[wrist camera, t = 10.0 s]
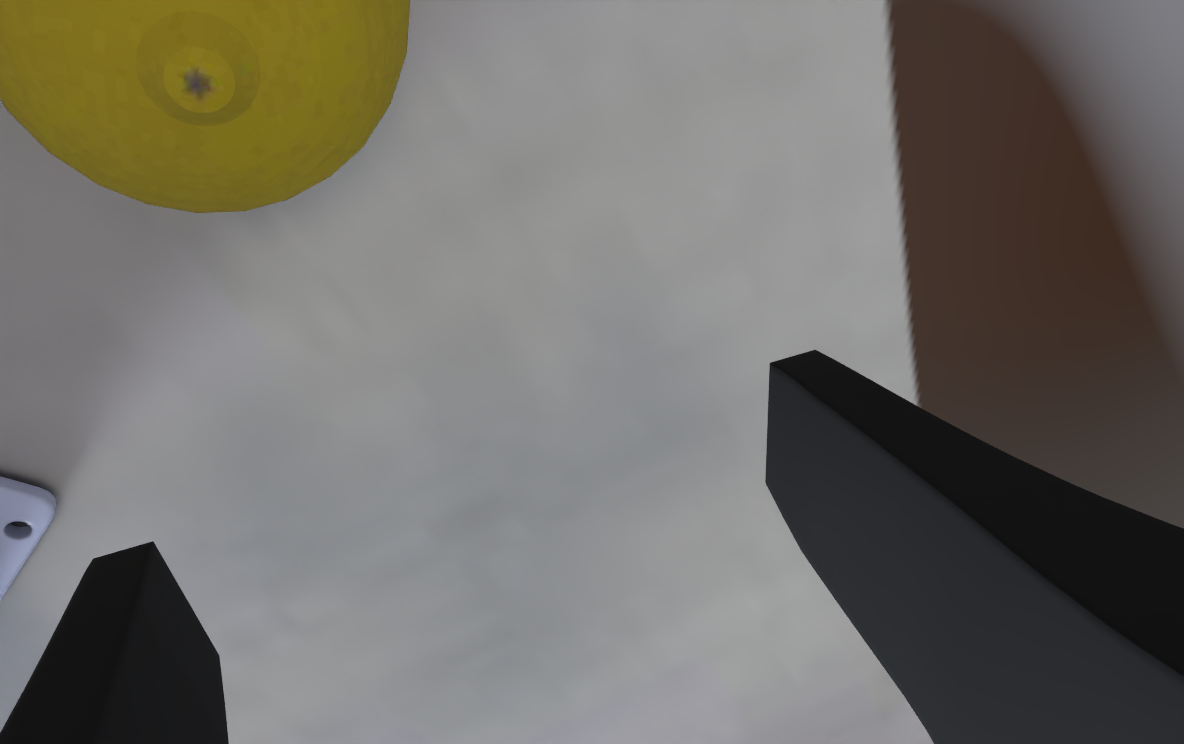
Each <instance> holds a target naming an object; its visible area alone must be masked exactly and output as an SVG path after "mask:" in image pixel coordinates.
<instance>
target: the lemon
mask: <svg viewBox="0 0 1184 744" xmlns="http://www.w3.org/2000/svg"><path fill="white" fill-rule="evenodd" d="M409 9H410V0H0V99H1V101H2V103H3V104H4V106H5V107H6V109H7V110H8V111H9V112H10V113H11V114H12V115H13V116H14V117H15V118H16V120H17V121H18V122H19V123H20V124H21V125H22V126H23V127H24V128H25V129H26V130H27V131H28V132H29V133H30V134H31V135H32V136H33V137H34V138H35V139H36V140H37V141H38V142H39V143H40V144H41V145H42V146H43V147H44V148H45V149H46V150H47V151H48V152H50V153H51V154H53V155H54V156H56V157H57V158H59V159H60V160H62V161H63V162H65V163H66V164H68V165H69V166H71V167H72V168H74V169H75V170H77V171H78V172H80V173H81V174H83V175H84V176H86V177H88V178H89V179H91V180H92V181H94V182H95V183H97V184H98V185H100V186H103V187H105V188H108V189H110V190H113V191H116V192H118V193H121V194H123V195H126V196H128V197H131V198H133V199H136V200H139V201H141V202H144V203H146V204H150V205H155V206H161V207H167V208H172V209H178V210H184V211H190V212H195V213H206V212H234V211H247V210H250V209H254V208H258V207H262V206H265V205H269V204H273V203H276V202H280V201H284V200H287V199H290V198H292V197H293V196H295V195H297V194H299V193H301V192H303V191H304V190H306V189H308V188H310V187H312V186H314V185H315V184H317V183H319V182H321V181H323V180H325V179H327V178H328V177H330V176H331V175H333V174H334V173H335V172H336V171H337V170H338V169H339V168H340V167H341V166H342V165H343V164H345V163H346V162H347V161H348V160H349V159H350V158H351V157H352V156H353V155H354V154H355V153H357V152H358V151H359V150H360V149H361V148H362V147H363V146H364V145H365V143H366V141H367V140H368V138H369V137H370V135H371V134H372V132H373V130H374V129H375V127H376V126H377V124H378V123H379V121H380V119H381V118H382V116H383V115H384V113H385V112H386V110H387V108H388V107H389V105H390V103H391V100H392V97H393V94H394V91H395V88H396V85H397V82H398V78H399V75H400V72H401V69H402V66H403V63H404V60H405V56H406V52H407V40H408V25H409Z"/></svg>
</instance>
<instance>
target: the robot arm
mask: <svg viewBox="0 0 1184 744" xmlns="http://www.w3.org/2000/svg"><path fill="white" fill-rule="evenodd" d="M766 485H767V486H768V488H769V490H770V492H771V494H772V496H773V498H774V500H775V502H776V504H777V506H778V508H779V510H780V512H781V514H782V516H783V518H784V520H785V522H786V523H787V525H788V527H789V529H790V531H791V532H792V534H793V536H794V538H795V540H796V542H797V543H798V545H799V547H800V549H801V551H802V552H803V554H804V555H805V557H806V558H807V560H808V561H809V562H810V564H811V565H812V567H813V568H814V570H815V571H816V573H817V574H818V575H819V577H820V578H821V580H822V581H823V583H824V584H825V585H826V587H827V588H828V590H829V591H830V593H831V594H832V595H833V597H834V598H835V600H836V601H837V602H838V604H839V605H840V607H841V608H842V610H843V611H844V612H845V614H846V615H847V617H848V618H849V619H850V621H851V622H852V624H853V625H854V626H855V628H856V629H857V631H858V632H859V633H860V635H861V636H862V638H863V639H864V640H865V642H866V643H867V645H868V646H869V647H870V649H871V650H872V652H873V653H874V654H875V656H876V657H877V659H878V660H879V661H880V663H881V664H882V666H883V667H884V668H885V670H886V671H887V673H888V674H889V675H890V677H891V678H892V680H893V681H894V682H895V684H896V685H897V687H898V688H899V689H900V691H901V692H902V694H903V695H904V696H905V698H906V699H907V701H908V703H909V704H910V706H911V707H912V709H913V710H914V712H915V713H916V715H917V716H918V718H919V719H920V721H921V722H922V724H923V726H924V727H925V729H926V730H927V732H928V734H929V735H930V737H931V739H932V741H933V742H934V744H1184V529H1183V528H1180V527H1178V526H1175V525H1172V524H1169V523H1167V522H1164V521H1162V520H1159V519H1156V518H1154V517H1151V516H1149V515H1146V514H1143V513H1141V512H1139V511H1136V510H1134V509H1131V508H1129V507H1126V506H1124V505H1121V504H1119V503H1116V502H1114V501H1111V500H1108V499H1106V498H1103V497H1101V496H1098V495H1096V494H1094V493H1092V492H1089V491H1087V490H1085V489H1082V488H1080V487H1078V486H1075V485H1073V484H1071V483H1069V482H1066V481H1064V480H1062V479H1060V478H1058V477H1056V476H1054V475H1052V474H1049V473H1047V472H1045V471H1043V470H1041V469H1039V468H1037V467H1034V466H1032V465H1030V464H1028V463H1026V462H1024V461H1022V460H1019V459H1017V458H1015V457H1013V456H1011V455H1009V454H1007V453H1005V452H1003V451H1001V450H999V449H997V448H995V447H993V446H991V445H989V444H987V443H985V442H983V441H981V440H980V439H978V438H976V437H974V436H972V435H970V434H968V433H966V432H964V431H962V430H960V429H958V428H957V427H955V426H953V425H951V424H949V423H947V422H945V421H943V420H941V419H940V418H938V417H936V416H934V415H932V414H930V413H929V412H927V411H925V410H923V409H921V408H920V407H918V406H916V405H914V404H912V403H911V402H909V401H907V400H905V399H903V398H902V397H900V396H898V395H896V394H895V393H893V392H891V391H889V390H887V389H886V388H884V387H882V386H880V385H879V384H877V383H875V382H873V381H871V380H870V379H868V378H866V377H864V376H863V375H861V374H859V373H857V372H855V371H854V370H852V369H850V368H848V367H846V366H845V365H843V364H841V363H839V362H837V361H836V360H834V359H832V358H830V357H828V356H826V355H824V354H822V353H821V352H819V351H817V350H813V351H809V352H806V353H803V354H799V355H796V356H792V357H789V358H785V359H782V360H778V361H775V362H771V363H770V373H769V401H768V429H767V456H766ZM55 509H56V500H55V497H54V496H53V495H52V494H51V493H50V492H49V491H47V490H45V489H42V488H40V487H36V486H33V485H29V484H26V483H22V482H19V481H15V480H11V479H8V478H4V477H1V476H0V600H1V599H2V597H3V596H4V594H5V593H6V591H7V590H8V588H9V586H10V585H11V583H12V582H13V580H14V579H15V577H16V576H17V574H18V573H19V571H20V569H21V568H22V566H23V565H24V563H25V562H26V560H27V559H28V557H29V555H30V554H31V552H32V551H33V549H34V548H35V546H36V545H37V543H38V542H39V540H40V538H41V537H42V535H43V534H44V532H45V531H46V529H47V528H48V526H49V524H50V523H51V521H52V520H53V517H54V514H55ZM15 521H20V522H25V523H27V524H29V525H27V526H24V527H19V526H14V525H12V524H10V523H11V522H15ZM0 744H229V743H228V732H227V722H226V711H225V701H224V693H223V684H222V675H221V667H220V658H219V654H218V653H217V651H216V649H215V647H214V646H213V644H212V642H211V641H210V639H209V637H208V635H207V634H206V632H205V630H204V628H203V627H202V625H201V623H200V622H199V620H198V618H197V616H196V615H195V613H194V611H193V609H192V608H191V606H190V604H189V602H188V601H187V599H186V597H185V596H184V594H183V592H182V590H181V589H180V587H179V585H178V583H177V582H176V580H175V578H174V577H173V575H172V573H171V571H170V570H169V568H168V566H167V564H166V563H165V561H164V559H163V557H162V556H161V554H160V552H159V551H158V549H157V547H156V545H155V544H154V542H149V543H146V544H142V545H139V546H136V547H132V548H129V549H125V550H122V551H118V552H115V553H111V554H108V555H104V556H101V557H97V558H94V559H93V560H92V562H91V563H90V565H89V566H88V568H87V569H86V571H85V573H84V575H83V577H82V579H81V581H80V583H79V585H78V587H77V588H76V590H75V592H74V594H73V596H72V598H71V600H70V602H69V604H68V606H67V608H66V610H65V612H64V614H63V616H62V618H61V620H60V622H59V624H58V626H57V628H56V630H55V632H54V634H53V636H52V637H51V639H50V641H49V643H48V645H47V647H46V649H45V651H44V653H43V655H42V657H41V659H40V661H39V662H38V664H37V666H36V668H35V670H34V672H33V674H32V676H31V678H30V680H29V682H28V683H27V685H26V687H25V689H24V691H23V693H22V694H21V696H20V698H19V700H18V702H17V703H16V705H15V707H14V709H13V711H12V712H11V714H10V716H9V718H8V720H7V722H6V723H5V725H4V727H3V729H2V731H1V732H0Z"/></svg>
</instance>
